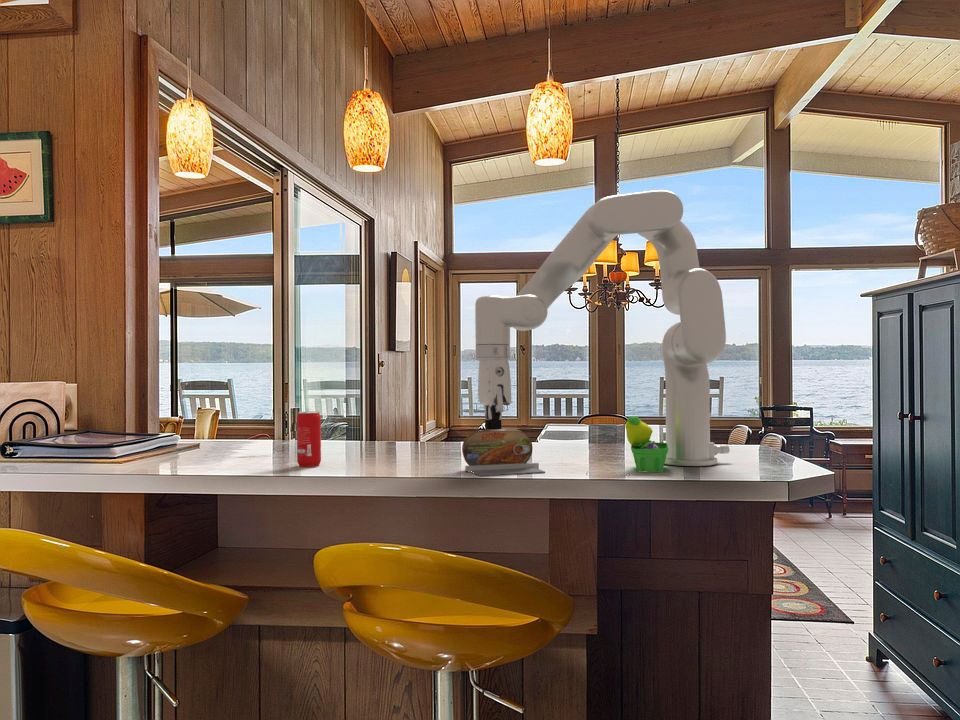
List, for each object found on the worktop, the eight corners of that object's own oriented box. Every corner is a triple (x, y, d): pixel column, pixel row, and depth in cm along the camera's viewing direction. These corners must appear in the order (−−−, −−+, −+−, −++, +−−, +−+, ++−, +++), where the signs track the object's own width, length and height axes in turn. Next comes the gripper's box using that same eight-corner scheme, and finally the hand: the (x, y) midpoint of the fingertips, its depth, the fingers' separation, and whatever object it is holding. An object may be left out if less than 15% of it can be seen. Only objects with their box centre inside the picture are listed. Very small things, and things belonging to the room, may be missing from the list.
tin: (462, 470, 162) (464, 432, 161) (460, 465, 165) (461, 428, 164) (531, 468, 165) (534, 431, 164) (528, 463, 168) (530, 426, 167)
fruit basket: (669, 473, 157) (669, 418, 157) (625, 472, 159) (624, 417, 159) (667, 466, 168) (666, 414, 168) (625, 465, 170) (625, 414, 170)
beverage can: (293, 465, 172) (293, 412, 172) (315, 463, 175) (314, 411, 175) (303, 468, 168) (302, 413, 168) (325, 466, 171) (324, 412, 171)
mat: (537, 468, 166) (537, 462, 166) (549, 472, 159) (549, 466, 159) (465, 471, 161) (465, 466, 161) (474, 476, 154) (474, 470, 154)
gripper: (520, 352, 161) (521, 440, 161) (498, 353, 175) (499, 434, 175) (486, 352, 159) (486, 442, 159) (467, 353, 173) (467, 435, 173)
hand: (493, 437), depth 167 cm, fingers closed
